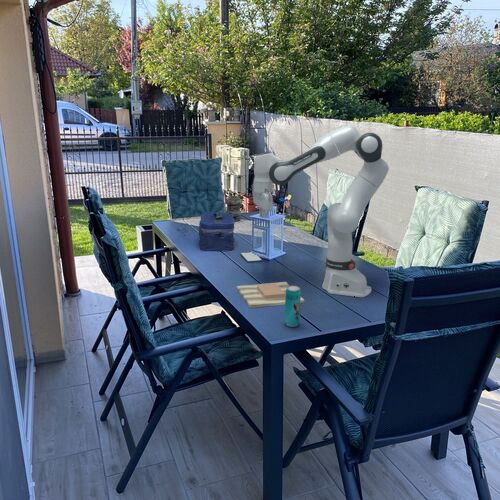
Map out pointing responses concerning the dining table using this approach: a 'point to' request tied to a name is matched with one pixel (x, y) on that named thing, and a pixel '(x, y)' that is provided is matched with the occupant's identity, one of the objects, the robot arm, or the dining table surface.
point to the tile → (270, 292)
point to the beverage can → (292, 306)
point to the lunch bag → (216, 232)
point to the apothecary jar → (233, 207)
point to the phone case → (250, 257)
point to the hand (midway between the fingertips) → (262, 216)
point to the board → (257, 300)
